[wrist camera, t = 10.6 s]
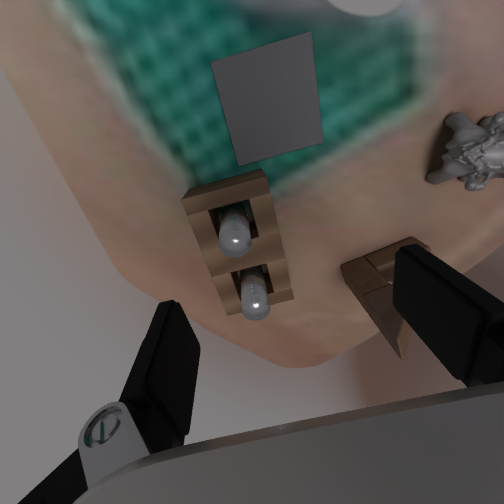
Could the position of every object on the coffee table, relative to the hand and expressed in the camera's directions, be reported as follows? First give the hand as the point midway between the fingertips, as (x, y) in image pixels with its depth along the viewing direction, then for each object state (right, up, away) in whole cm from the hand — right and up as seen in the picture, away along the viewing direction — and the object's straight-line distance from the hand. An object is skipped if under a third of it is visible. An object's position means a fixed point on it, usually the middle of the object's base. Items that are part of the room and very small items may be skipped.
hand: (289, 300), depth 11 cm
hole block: (-3, +4, +22) cm, 23 cm away
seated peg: (-2, 0, +24) cm, 24 cm away
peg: (-4, +7, +21) cm, 22 cm away
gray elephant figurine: (+25, +15, +19) cm, 35 cm away
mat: (0, +18, +16) cm, 24 cm away
